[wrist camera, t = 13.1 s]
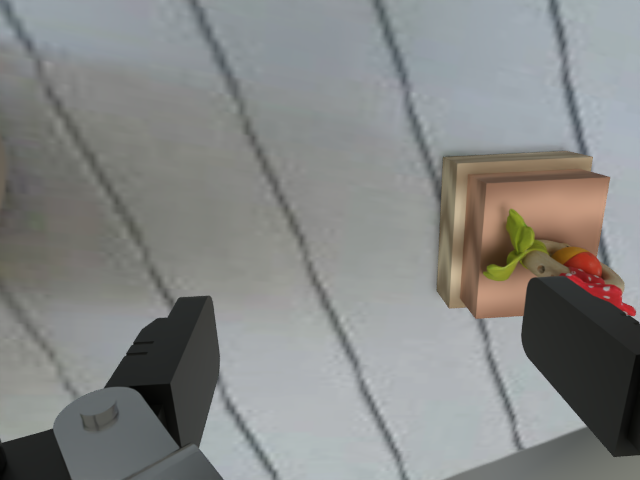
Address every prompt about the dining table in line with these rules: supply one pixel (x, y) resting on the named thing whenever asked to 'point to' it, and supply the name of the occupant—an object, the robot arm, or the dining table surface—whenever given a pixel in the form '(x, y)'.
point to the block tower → (491, 218)
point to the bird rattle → (559, 264)
